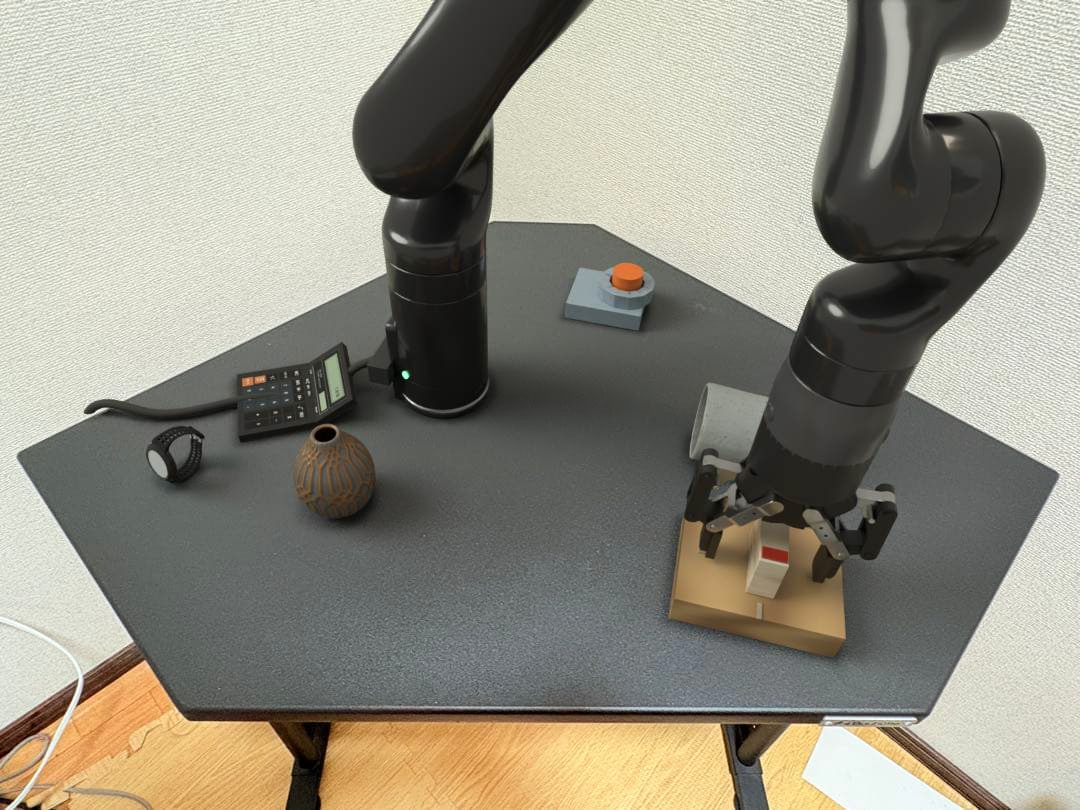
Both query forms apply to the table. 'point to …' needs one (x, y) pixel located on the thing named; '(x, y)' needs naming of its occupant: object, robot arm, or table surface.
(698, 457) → the ceramic mug
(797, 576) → the knob base
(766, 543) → the cream red striped block
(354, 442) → the vase
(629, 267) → the button
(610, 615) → the table surface
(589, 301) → the button block
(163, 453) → the smartwatch
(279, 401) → the calculator
